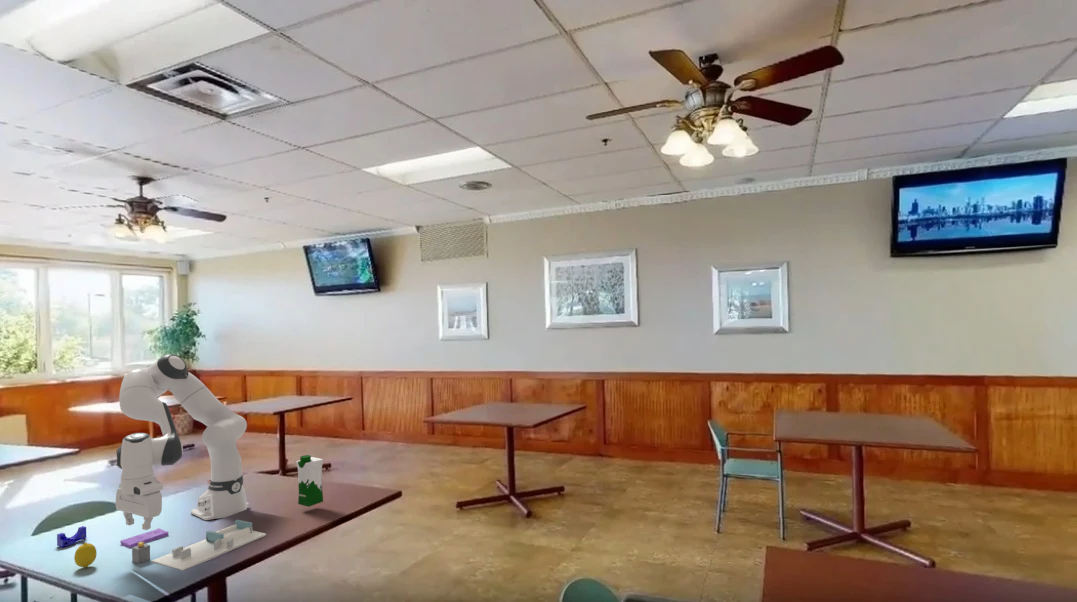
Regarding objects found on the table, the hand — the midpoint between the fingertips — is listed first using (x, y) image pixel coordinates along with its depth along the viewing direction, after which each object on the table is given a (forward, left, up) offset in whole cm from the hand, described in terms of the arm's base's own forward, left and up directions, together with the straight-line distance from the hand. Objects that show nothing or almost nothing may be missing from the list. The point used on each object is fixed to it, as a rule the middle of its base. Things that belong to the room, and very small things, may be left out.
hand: (138, 526), depth 184 cm
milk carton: (+9, +62, -12) cm, 64 cm away
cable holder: (-40, 0, -12) cm, 42 cm away
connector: (+1, 0, -11) cm, 11 cm away
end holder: (+11, +24, -11) cm, 29 cm away
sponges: (-17, +12, -12) cm, 24 cm away
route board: (+13, +16, -11) cm, 24 cm away
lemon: (-11, -10, -12) cm, 19 cm away
